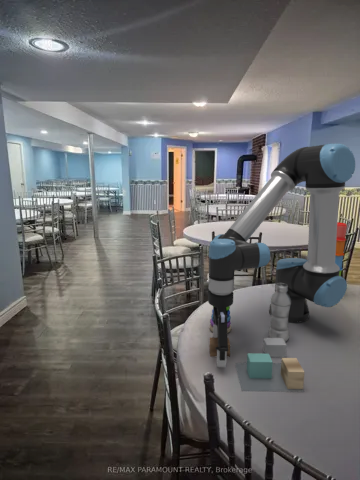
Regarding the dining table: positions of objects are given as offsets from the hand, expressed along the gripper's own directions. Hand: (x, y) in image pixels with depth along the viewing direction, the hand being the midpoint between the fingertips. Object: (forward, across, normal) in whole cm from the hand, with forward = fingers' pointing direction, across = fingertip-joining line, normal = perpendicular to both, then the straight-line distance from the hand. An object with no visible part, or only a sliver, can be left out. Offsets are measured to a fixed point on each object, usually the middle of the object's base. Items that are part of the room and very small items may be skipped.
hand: (219, 354), depth 94 cm
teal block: (-1, +10, +10) cm, 14 cm away
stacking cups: (0, -48, +55) cm, 73 cm away
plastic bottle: (0, -9, +21) cm, 23 cm away
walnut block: (0, 0, 0) cm, 0 cm away
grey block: (0, 0, +17) cm, 17 cm away
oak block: (-1, +13, +18) cm, 22 cm away
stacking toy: (0, -16, +2) cm, 16 cm away
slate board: (0, +11, +12) cm, 16 cm away
